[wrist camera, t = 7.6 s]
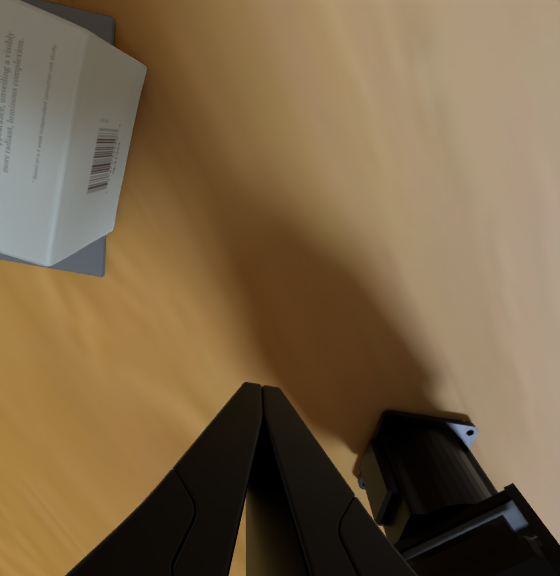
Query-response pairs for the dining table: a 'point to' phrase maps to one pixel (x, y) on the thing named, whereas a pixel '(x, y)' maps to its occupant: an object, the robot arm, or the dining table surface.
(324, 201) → the dining table surface
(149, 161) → the dining table surface
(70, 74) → the small box
